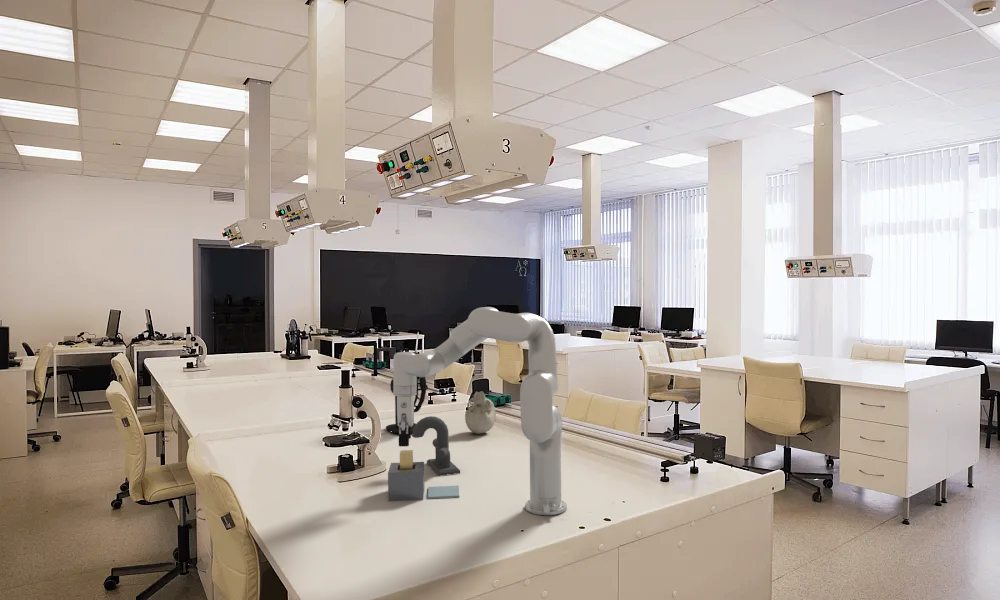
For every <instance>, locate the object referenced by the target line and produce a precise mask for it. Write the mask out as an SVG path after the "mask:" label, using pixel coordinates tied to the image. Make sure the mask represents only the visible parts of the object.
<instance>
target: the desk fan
mask: <svg viewBox="0 0 1000 600" xmlns="http://www.w3.org/2000/svg"><path fill="white" fill-rule="evenodd" d="M393 385H394V384H393V379H391V380H390V385H389V386H390V391H391V394H393ZM428 388H429V385H427V377H419V380H418V378H417V395H414V413H418V412H419V411H420V410H421V408H422V406H423V404H424V403H425V402H424V401H425V399H426V393H427V390H428ZM419 391H420V397H419ZM417 400H419V401H417ZM394 401H395V402H394V404H395V405H394V407H395V408H394V412H395V417H394V418H395V420H394V421H395V423H392V424H388V425H386V426H385V430H386V429H388V430H390V431H392V432H395V433H399V428H400V427H399V426H398V422H397V396H394ZM417 402H418V403H417ZM416 403H417V404H416ZM416 424H417V422H416V423H415V422H414V424H413V426H412V427H411V433H412V432H413V429H414V427H415V425H416ZM410 426H411V425H410ZM388 430H387V431H388ZM390 431H389V432H390ZM392 432H391V433H392Z"/></svg>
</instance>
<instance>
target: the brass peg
mask: <svg viewBox="0 0 1000 600" xmlns="http://www.w3.org/2000/svg"><path fill="white" fill-rule="evenodd" d="M413 462H414V450H413V449H408V450H407V449H403V450H400V452H399V463H400V470H409V469H413Z"/></svg>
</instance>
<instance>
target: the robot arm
mask: <svg viewBox="0 0 1000 600" xmlns="http://www.w3.org/2000/svg"><path fill="white" fill-rule="evenodd" d="M487 339H491V340H497V341H503V342H509V343H517V344H518V343H524V342H527V343H528V353H527V354H528V356H527V359H528V374H527V375H526V376H525V377H524V378H523V379H522V382H521V383H520V389H519V400H520V401H519V402H520V404H519V406H520V422H521V423H520V426H521V430H522V433H523V435H524V436H525V438H526V439H527V440H529V498H530V499H528V500H527V501H526V502H525V504H524V508H525V510H526V511H528V512H529V513H531V514H534V515H539V516H553V515H554V516H555V515H560V514H562V513H565V511H566V510H567V503H566V502H565V500H562V434H563V433H562V432H563V418H562V417H563V416H562V414H561V412H560V411H559V409H558V408H557V407H556V406H555V405H554V404H553V398H554V396H556V394H557V392H558V389H559V379H558V364H557V348H556V347H557V346H556V337H555V334H554V331H553V329H552V327H551V325H550V324H549V322H547V320H545V319H544V318H543V317H541V316H539V315H537V314H534V313H531V312H520V313H513V312H512V313H511V312H505V311H499V310H498V309H497V308H495V307H492V306H485V307H484V306H483V307H477V308H476V309H473V310H472V311H471V312H470V313H469V315H468V317H467V319H466V320H465V321H462V322H461V323H460V324H459V325H457V326H456V327H455V328H453V329H452V330H451V331H450V335H449V337H448V338H447V339H446V340H445V341H443V342H442V343H441V344H440V345H439V346H437V347H435V348H434V349H432V350H431V351H427V352H423V353H417V354H416V353H415V352H412V351H411V352H410V351H399V352H396V353H394V355H393V373H392V375H393V376H392V377H393V379H392V380H393V384H394V385H393V393H392V394H393V396H394V397H395V396H397V422H398V426H399V427H400V428H399V434H398V447H409V446H410V439H411V437H412V434H411V427H412V426H413V424H414V423H415V412H414V409H415V407H414V400H415V395H417V379H418V377H419V378H420V377H425V378H427V377H429V376H433V375H434V374H435V375H436V374H438V373H441V372H442V371H444V370H445V369H447V368H448V367H450V366H451V365H453V364H454V363H455V362H457V361H459V359H461V358H462V357H463V356H465V355H466V354H467V353H468V352H470V351H471V350H473V349H475V348H476V347H477V346H478V345H480V344H481V343H482V342H484V341H486V340H487ZM410 425H411V426H410Z"/></svg>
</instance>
